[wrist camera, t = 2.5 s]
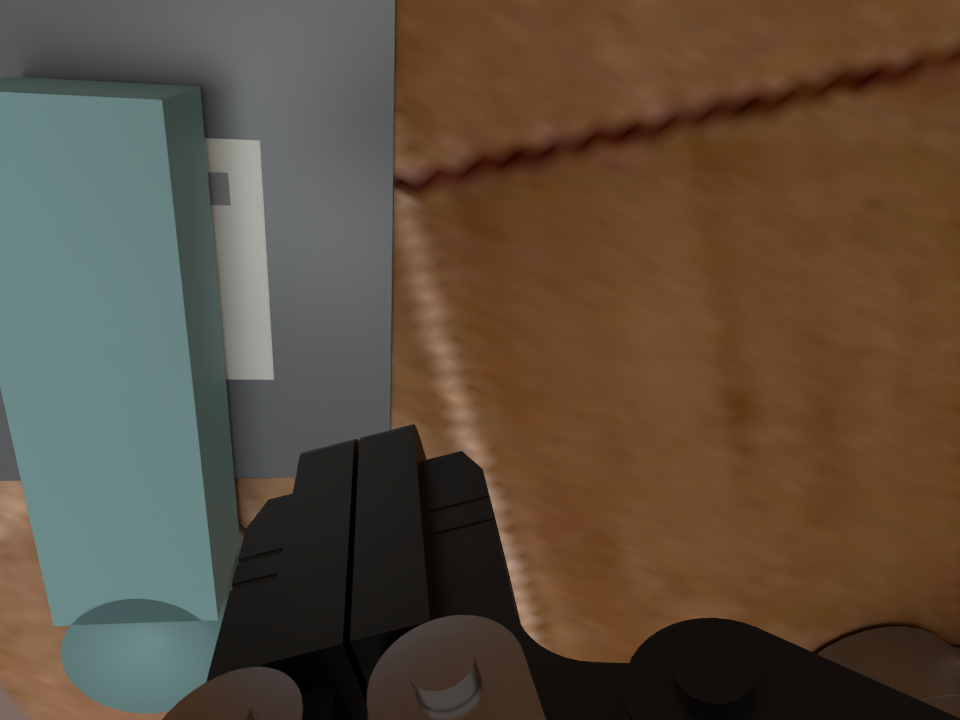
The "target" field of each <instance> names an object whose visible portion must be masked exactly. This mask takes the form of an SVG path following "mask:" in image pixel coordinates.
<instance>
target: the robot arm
mask: <svg viewBox="0 0 960 720" xmlns="http://www.w3.org/2000/svg"><path fill="white" fill-rule="evenodd" d="M238 560H239V565H236V569H235V573H234V577H233V581H232V588H233V590H232V591H230V592H229V596H228V600H227V604H226V608H225V612H224V615H223V619H222V623H221V627H220V631H219V635H218V638H217V642H216V646H215V650H214V654H213V658H212V662H211V665H210V669H209V673H208V677H207V681H206V683H204V684H202V685H201V686H199V687H198V688H196V689H195V690H193V691H192V692H190V693H189V694H188V695H187V696H185V697H184V698H183V699H182V700H180V701H179V702H178V703H177V704H176V705H175V706H174V707H173V708H172V709H171V710H170V711H169V712H168V713H167V714H166V716H165V717H164V718H163V719H162V720H960V648H959V647H952V646H951V645H949V644H947V643H946V642H945V641H944V640H942V639H941V638H940V637H938V636H937V635H935V634H933V633H930V632H928V631H925V630H923V629H918V628H912V627H906V626H896V627H882V628H876V629H871V630H866V631H863V632H860V633H857V634H854V635H851V636H849V637H846V638H843V639H841V640H840V641H838V642H836V643H834V644H832V645H830V646H828V647H826V648H824V649H823V650H822V651H820V652H819V653H818V654H815V653H813V652H810V651H808V650H806V649H804V648H801V647H799V646H797V645H795V644H792V643H790V642H788V641H786V640H784V639H781V638H779V637H777V636H775V635H772V634H770V633H768V632H766V631H763V630H761V629H759V628H756V627H754V626H751V625H748V624H745V623H742V622H738V621H733V620H729V619H719V618H699V619H692V620H686V621H682V622H679V623H676V624H672V625H670V626H668V627H666V628H664V629H662V630H659V631H658V632H656V633H655V634H654V635H652V636H651V637H649V638H648V639H647V640H646V641H645V642H644V643H643V644H642V645H641V646H640V647H639V648H638V649H637V651H636V652H635V654H634V655H633V657H632V659H631V661H630V663H602V662H587V661H578V660H574V659H570V658H565V657H563V656H560V655H557V654H555V653H552V652H551V651H549V650H547V649H545V648H543V647H542V646H540V645H539V644H538V643H536V642H535V641H534V640H533V639H532V638H531V637H530V636H529V635H528V634H527V633H526V632H525V631H524V629H523V627H522V626H521V623H520V619H519V614H518V610H517V606H516V602H515V597H514V593H513V589H512V585H511V580H510V576H509V572H508V568H507V563H506V559H505V555H504V551H503V547H502V543H501V540H500V536H499V532H498V528H497V524H496V520H495V516H494V512H493V508H492V504H491V500H490V496H489V492H488V488H487V484H486V480H485V476H484V473H483V469H482V468H481V467H479V466H478V465H477V464H476V463H475V462H474V461H473V460H471V459H470V458H469V457H468V456H467V455H466V454H464V453H463V452H462V451H460V452H456V453H452V454H448V455H444V456H440V457H436V458H432V459H428V460H426V457H425V453H424V450H423V446H422V443H421V440H420V436H419V433H418V431H417V428H416V426H415V424H413V425H409V426H405V427H401V428H397V429H393V430H389V431H385V432H381V433H377V434H373V435H369V436H365V437H361V438H360V440H359V441H358V439H354V440H350V441H346V442H342V443H338V444H334V445H330V446H326V447H322V448H318V449H314V450H310V451H306V452H302V453H301V454H300V457H299V462H298V468H297V473H296V479H295V484H294V490H293V494H290V495H286V496H282V497H278V498H274V499H270V500H268V501H267V502H266V504H265V505H264V506H263V508H262V509H261V510H260V512H259V513H258V514H257V515H256V517H255V518H254V519H253V521H252V522H251V523H250V524H249V526H248V527H247V528H246V531H245V535H244V538H243V542H242V546H241V550H240V554H239V558H238Z"/></svg>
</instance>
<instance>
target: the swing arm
mask: <svg viewBox="0 0 960 720" xmlns="http://www.w3.org/2000/svg"><path fill="white" fill-rule="evenodd" d="M0 389H1V393H2V397H3V402H4V406H5V411H6V415H7V420H8V424H9V429H10V433H11V438H12V442H13V447H14V451H15V455H16V460H17V464H18V469H19V473H20V478H21V482H22V487H23V491H24V496H25V500H26V505H27V509H28V513H29V518H30V522H31V527H32V531H33V536H34V540H35V545H36V549H37V554H38V558H39V563H40V567H41V571H42V576H43V580H44V585H45V589H46V594H47V598H48V603H49V607H50V612H51V616H52V621H53V625H54V626H67V625H70V626H69V627H68V629H67V631H66V633H65V636H64V638H63V641H62V645H61V660H62V664H63V667H64V670H65V672H66V674H67V676H68V677H69V679H70V680H71V681H72V683H73V684H74V685H75V686H76V687H77V688H78V689H79V690H80V691H81V692H83V693H84V694H85V695H86V696H88V697H90V698H91V699H93V700H94V701H96V702H98V703H100V704H103V705H105V706H108V707H110V708H114V709H117V710H121V711H126V712H132V713H160V712H166V711H170V710H171V709H172V708H173V707H174V706H175V705H176V704H177V703H178V702H179V701H180V700H182V699H183V698H184V697H185V696H187V695H188V694H189V693H190V692H192V691H193V690H195V689H196V688H198V687H199V686H201V685H202V684H204V683H206V681H207V677H208V673H209V669H210V665H211V662H212V658H213V654H214V650H215V646H216V642H217V638H218V635H219V631H220V627H221V623H222V619H223V615H224V612H225V608H226V604H227V600H228V596H229V592H230V591H232V590H233V588H232V581H233V577H234V573H235V569H236V565H239V560H238V557H237V556H236V555H237V551H238V548H239V544H240V536H239V525H238V514H237V502H236V491H235V479H234V468H233V456H232V445H231V433H230V422H229V411H228V399H227V388H226V376H225V365H224V353H223V342H222V331H221V319H220V308H219V296H218V285H217V273H216V262H215V250H214V239H213V228H212V216H211V205H210V193H209V182H208V170H207V159H206V148H205V136H204V125H203V113H202V102H201V90H200V86H184V85H165V84H146V83H127V82H107V81H88V80H69V79H50V78H31V77H6V78H0Z"/></svg>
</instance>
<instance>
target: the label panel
mask: <svg viewBox="0 0 960 720" xmlns="http://www.w3.org/2000/svg"><path fill="white" fill-rule="evenodd" d="M394 61H395V0H0V78H6V77H31V78H50V79H69V80H88V81H107V82H127V83H146V84H165V85H184V86H200V90H201V102H202V113H203V125H204V136H205V148H206V159H207V170H208V182H209V193H210V205H211V216H212V228H213V239H214V250H215V262H216V273H217V285H218V296H219V308H220V319H221V331H222V342H223V353H224V365H225V376H226V388H227V399H228V411H229V422H230V433H231V445H232V456H233V468H234V478H276V477H296V473H297V468H298V462H299V457H300V454H301V453H302V452H306V451H310V450H314V449H318V448H322V447H326V446H330V445H334V444H338V443H342V442H346V441H350V440H354V439H358V441H359V440H360V438H361V437H365V436H369V435H373V434H377V433H381V432H385V431H389V430H390V400H391V315H392V231H393V146H394ZM12 480H21V478H20V473H19V469H18V464H17V460H16V455H15V451H14V447H13V442H12V438H11V433H10V429H9V424H8V420H7V415H6V411H5V406H4V402H3V397H2V393H1V389H0V481H12Z"/></svg>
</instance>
